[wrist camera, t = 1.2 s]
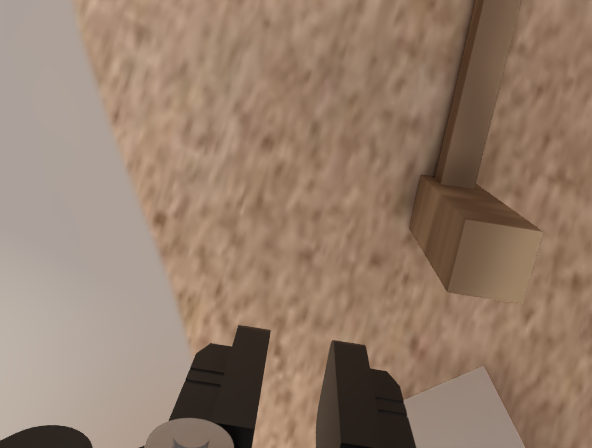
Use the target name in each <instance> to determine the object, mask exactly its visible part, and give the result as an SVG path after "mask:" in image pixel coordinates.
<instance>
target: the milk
mask: <svg viewBox="0 0 592 448" xmlns="http://www.w3.org/2000/svg"><path fill="white" fill-rule="evenodd" d="M404 404H405V408H406V411H407V417H408V419H409V422H410V426H411V430H412V433H413V437H414V441H415V444H416V448H525V446H524V444H523V442H522V440H521V438H520V436H519V434H518V432H517V430H516V428H515V426H514V424H513V422H512V420H511V418H510V417H509V415H508V413H507V411H506V409H505V407H504V405H503V403H502V401H501V399H500V397H499V395H498V393H497V391H496V389H495V387H494V385H493V383H492V381H491V379H490V377H489V375H488V373H487V371H486V369H485V367H484V366H481V367H479V368H477V369H474V370H472V371H470V372H467V373H465V374H463V375H460V376H458V377H456V378H453V379H451V380H449V381H447V382H444V383H442V384H440V385H437V386H435V387H433V388H430V389H428V390H426V391H423V392H421V393H419V394H416V395H414V396H412V397H410V398H407V399H405V400H404Z"/></svg>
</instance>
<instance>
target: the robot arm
mask: <svg viewBox="0 0 592 448" xmlns="http://www.w3.org/2000/svg"><path fill="white" fill-rule="evenodd" d="M270 331H271V330H266V329H260V328H254V327H248V326H241V325H238V328H237V332H236V335H235V339H234V342H233V345H232V347H231V346H224V345H218V344H212V343H210V344H209V345H208V346H206V347H205V348H203V349H202V350H201V351H199V352H198V353H196V355H195V358H194V360H193V363H192V365H191V368H190V370H189V372H188V375H187V377H186V381H185V383H184V385H183V387H182V389H181V392H180V394H179V397H178V399H177V402H176V404H175V407H174V409H173V412H172V414H171V416H170V419H169V421H168V422H166V423H163V424H162V425H160V426H158V427H157V428H156V429H154V430H153V432H152V433H151V434H150V435H149V437H148V439H147V441H146V444H145V446H143V447H140V448H252V442H253V436H254V430H255V424H256V418H257V412H258V405H259V399H260V393H261V387H262V381H263V375H264V368H265V362H266V356H267V350H268V344H269V338H270ZM0 448H92V445H91V442H90V440H89V439H88V437H86V436H85V435H84V434H83V433H81V432H80V431H78V430H75V429H73V428H70V427H65V426H58V425H46V426H38V427H33V428H29V429H26V430H23V431H20V432H18V433H15V434H13V435H11V436H9V437H7V438H5V439H3V440H1V441H0ZM316 448H416V444H415V441H414V437H413V433H412V430H411V426H410V422H409V419H408V417H407V411H406V408H405V404H404V400H403V396H402V393H401V389H400V386H399V385H398V384H397V382H396V381H395V380H394V379H393V378H392V377H391V376H390V375H389V373H388V372H387V371H381V370H375V369H370V366H369V361H368V355H367V350H366V346H365V345H360V344H354V343H348V342H341V341H335V340H332V342H331V345H330V350H329V355H328V360H327V365H326V370H325V375H324V380H323V385H322V390H321V395H320V401H319V406H318V413H317V422H316Z"/></svg>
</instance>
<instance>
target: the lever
mask: <svg viewBox="0 0 592 448" xmlns="http://www.w3.org/2000/svg"><path fill="white" fill-rule="evenodd" d="M521 1H522V0H476V2H475V6H474V11H473V15H472V19H471V24H470V28H469V32H468V37H467V41H466V45H465V49H464V54H463V58H462V62H461V67H460V71H459V75H458V80H457V84H456V88H455V93H454V97H453V101H452V106H451V110H450V114H449V119H448V123H447V127H446V132H445V136H444V140H443V145H442V149H441V153H440V157H439V162H438V166H437V170H436V175H435V177H430V176H424V175H421V178H420V182H419V187H418V191H417V196H416V200H415V205H414V209H413V213H412V218H411V222H410V227H409V229H410V230H411V232H412V234H413V235H414V237H415V239H416V240H417V242H418V244H419V245H420V247H421V249H422V250H423V252H424V254H425V256H426V257H427V259H428V261H429V262H430V264H431V266H432V267H433V269H434V271H435V272H436V274H437V276H438V277H439V279H440V281H441V282H442V284H443V286H444V287H445V289H446V291H447V292H449V293H456V294H462V295H468V296H474V297H480V298H487V299H493V300H499V301H505V302H511V303H518V304H523V301H524V297H525V294H526V290H527V287H528V284H529V280H530V277H531V273H532V270H533V267H534V263H535V260H536V256H537V253H538V250H539V246H540V243H541V239H542V236H543V231H541V230H540V229H539V228H537V227H536V226H534V225H533V224H532V223H530V222H529V221H527V220H526V219H525V218H523V217H522V216H520V215H519V214H518V213H516V212H515V211H513V210H512V209H511V208H509V207H508V206H506V205H505V204H504V203H502V202H501V201H499V200H498V199H497V198H495V197H494V196H492V195H491V194H490V193H488V192H487V191H485V190H484V189H483V188H481V187H480V186H478V185H477V184H475V183H476V179H477V175H478V171H479V167H480V163H481V159H482V155H483V151H484V148H485V144H486V140H487V136H488V132H489V128H490V124H491V120H492V116H493V112H494V108H495V104H496V100H497V96H498V92H499V88H500V84H501V80H502V76H503V72H504V68H505V64H506V60H507V56H508V52H509V48H510V44H511V41H512V37H513V33H514V29H515V25H516V21H517V17H518V13H519V9H520V5H521Z"/></svg>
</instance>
